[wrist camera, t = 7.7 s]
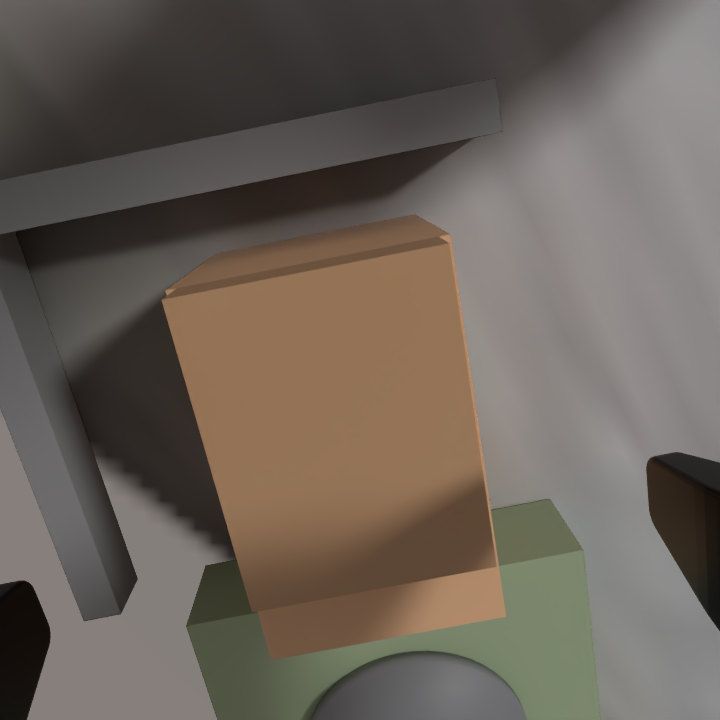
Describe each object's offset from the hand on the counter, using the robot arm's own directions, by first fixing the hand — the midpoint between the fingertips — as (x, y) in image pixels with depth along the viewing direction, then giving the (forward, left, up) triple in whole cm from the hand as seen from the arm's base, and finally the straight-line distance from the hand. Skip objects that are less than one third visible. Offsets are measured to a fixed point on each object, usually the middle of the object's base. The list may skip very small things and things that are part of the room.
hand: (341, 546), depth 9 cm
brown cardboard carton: (0, 0, -8) cm, 8 cm away
